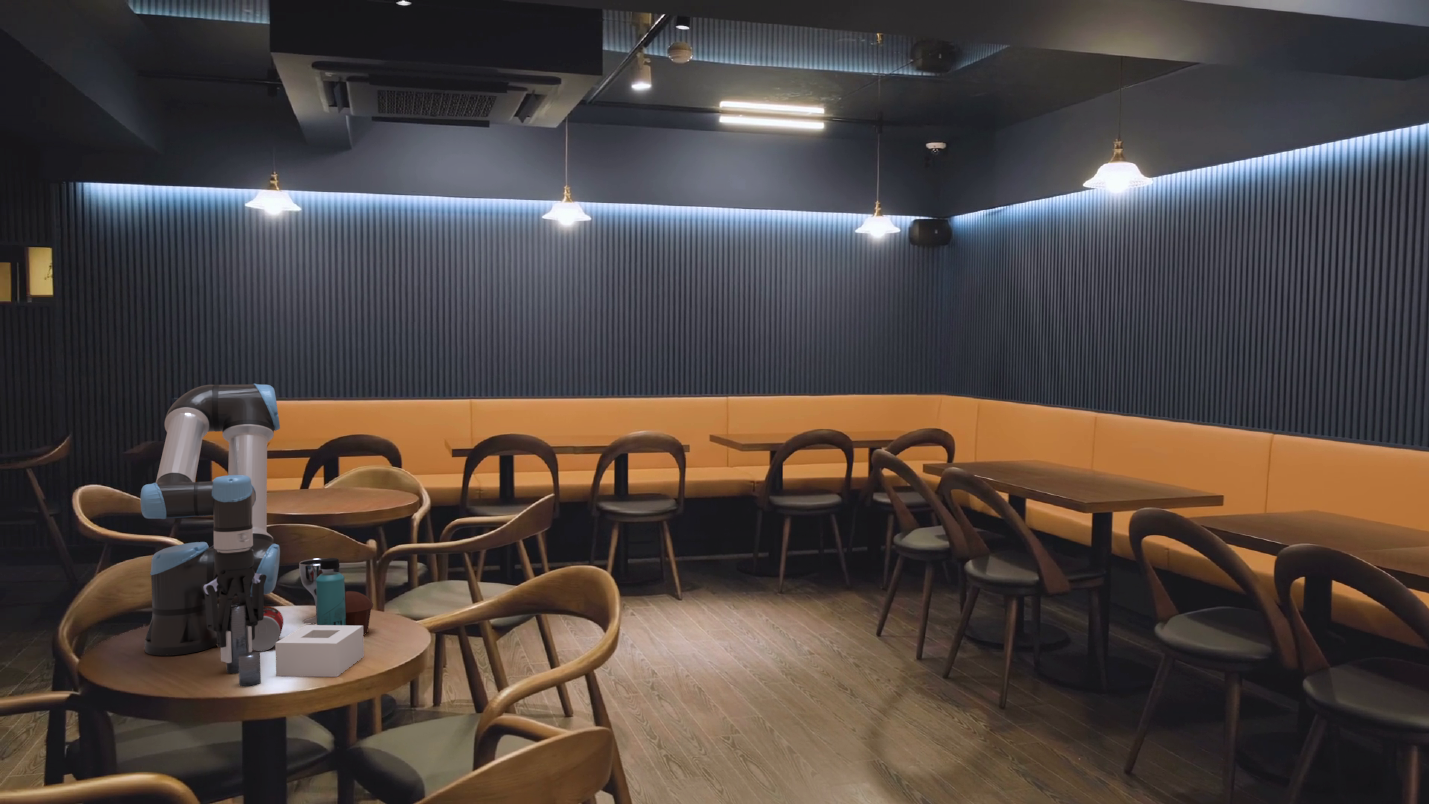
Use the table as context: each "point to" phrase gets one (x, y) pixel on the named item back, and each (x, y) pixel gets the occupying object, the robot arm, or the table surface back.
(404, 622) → the table surface
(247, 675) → the short peg
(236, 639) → the long peg
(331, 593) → the beverage bottle
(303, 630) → the hole block
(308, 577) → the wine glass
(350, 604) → the muffin
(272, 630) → the canned food
